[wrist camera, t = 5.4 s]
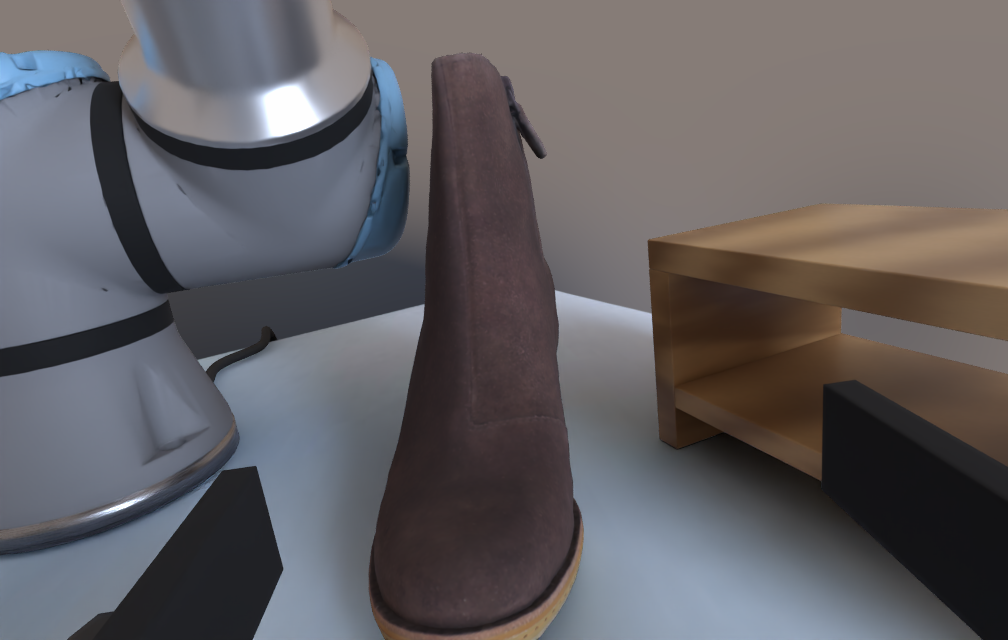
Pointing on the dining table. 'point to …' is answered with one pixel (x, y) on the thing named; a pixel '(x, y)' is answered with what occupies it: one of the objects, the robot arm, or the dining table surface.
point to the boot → (479, 395)
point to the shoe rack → (825, 322)
